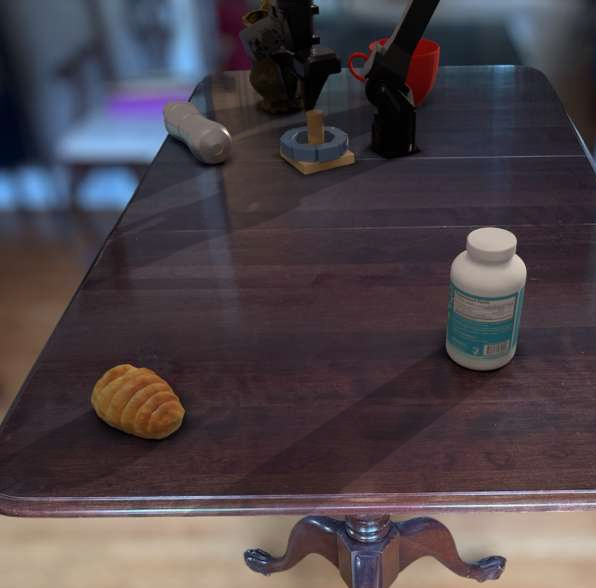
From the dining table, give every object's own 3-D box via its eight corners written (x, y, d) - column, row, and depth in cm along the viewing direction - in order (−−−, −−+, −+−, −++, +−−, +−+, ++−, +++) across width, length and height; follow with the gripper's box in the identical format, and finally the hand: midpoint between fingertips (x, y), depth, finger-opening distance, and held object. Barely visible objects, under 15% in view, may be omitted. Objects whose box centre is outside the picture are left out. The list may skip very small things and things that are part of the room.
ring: (328, 133, 121) (327, 121, 120) (358, 153, 114) (358, 141, 113) (272, 145, 117) (271, 133, 116) (300, 167, 110) (299, 154, 109)
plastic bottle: (231, 121, 111) (185, 87, 123) (190, 134, 108) (148, 98, 121) (240, 160, 115) (195, 123, 128) (202, 174, 113) (160, 135, 126)
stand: (328, 145, 121) (326, 99, 116) (354, 163, 115) (353, 115, 110) (280, 155, 118) (276, 109, 113) (304, 174, 112) (301, 126, 107)
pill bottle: (469, 324, 80) (481, 213, 71) (527, 349, 77) (546, 235, 68) (431, 355, 76) (437, 241, 67) (490, 383, 72) (505, 266, 64)
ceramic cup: (351, 91, 142) (349, 36, 135) (436, 92, 141) (438, 37, 135) (346, 114, 132) (345, 56, 126) (438, 115, 132) (441, 56, 125)
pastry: (204, 417, 69) (197, 386, 66) (149, 456, 65) (139, 426, 62) (142, 380, 73) (134, 350, 71) (86, 415, 69) (75, 384, 67)
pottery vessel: (270, 82, 147) (260, -29, 134) (323, 83, 146) (317, -29, 133) (244, 126, 128) (229, 1, 115) (304, 127, 127) (295, 2, 114)
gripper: (218, -12, 107) (231, 95, 118) (269, 20, 95) (278, 135, 106) (286, -19, 111) (292, 84, 122) (342, 10, 100) (343, 122, 110)
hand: (299, 105), depth 115 cm, fingers open, 6 cm apart
